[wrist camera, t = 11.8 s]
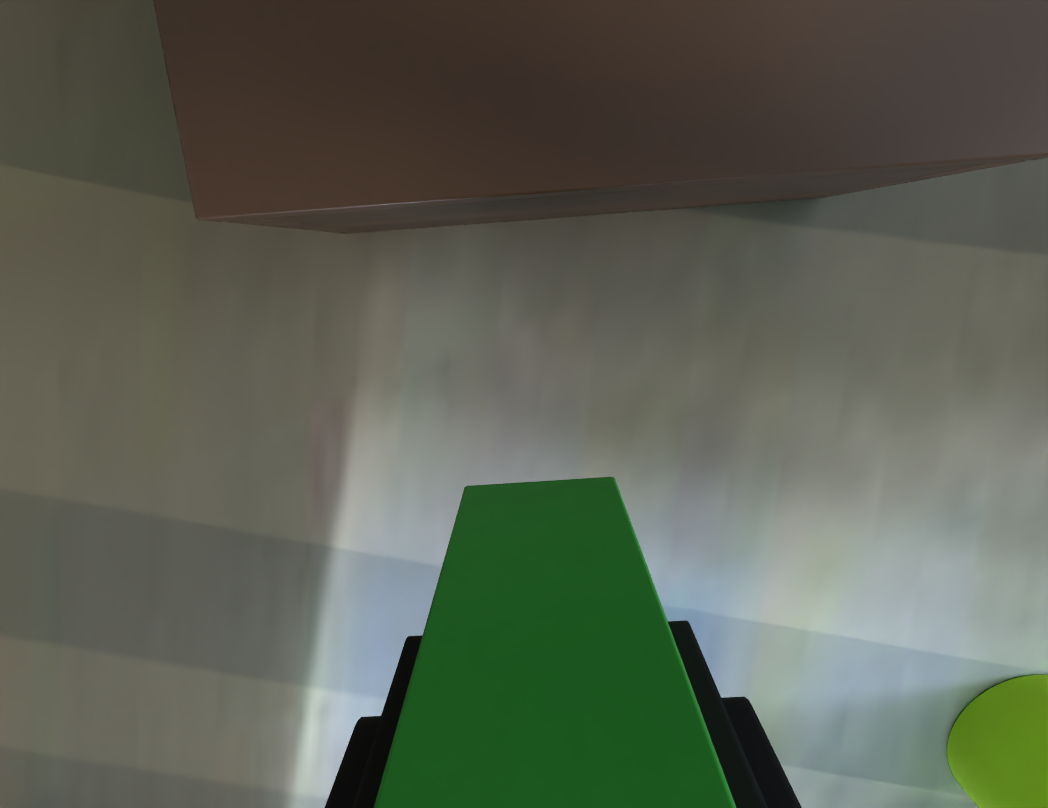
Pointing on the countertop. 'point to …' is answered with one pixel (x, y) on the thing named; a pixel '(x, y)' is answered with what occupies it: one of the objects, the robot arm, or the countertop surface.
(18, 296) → the countertop surface
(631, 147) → the cabinet
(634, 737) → the green rectangular box
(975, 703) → the soap dispenser
